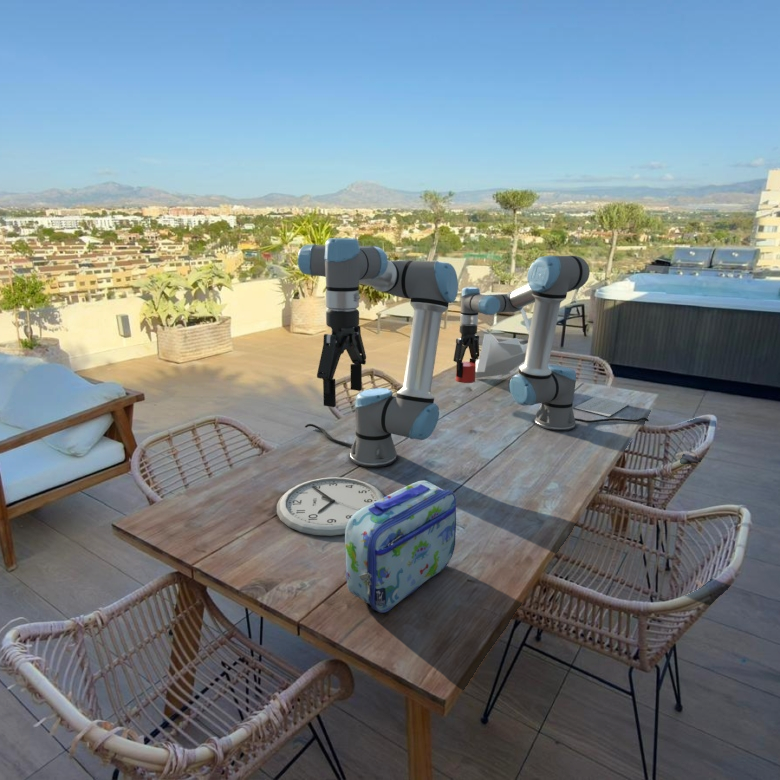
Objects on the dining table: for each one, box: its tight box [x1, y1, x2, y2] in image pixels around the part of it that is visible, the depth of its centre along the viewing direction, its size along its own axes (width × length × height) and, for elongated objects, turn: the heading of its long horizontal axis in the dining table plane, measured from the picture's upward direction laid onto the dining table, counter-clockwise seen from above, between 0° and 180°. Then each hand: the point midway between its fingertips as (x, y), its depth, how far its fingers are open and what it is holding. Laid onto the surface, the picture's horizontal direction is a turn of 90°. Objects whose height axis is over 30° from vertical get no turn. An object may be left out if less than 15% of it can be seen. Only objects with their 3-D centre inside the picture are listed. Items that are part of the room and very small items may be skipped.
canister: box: [455, 361, 476, 384], centre depth 231 cm, size 8×8×8 cm
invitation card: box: [573, 396, 629, 418], centre depth 226 cm, size 21×1×15 cm
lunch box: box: [344, 480, 457, 614], centre depth 109 cm, size 26×11×21 cm, turn 135°
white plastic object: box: [475, 307, 551, 379], centre depth 257 cm, size 37×45×31 cm
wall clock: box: [276, 476, 386, 537], centre depth 142 cm, size 30×2×30 cm
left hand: (343, 397), depth 125 cm, fingers open, 13 cm apart
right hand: (465, 374), depth 231 cm, fingers closed on canister, 8 cm apart
